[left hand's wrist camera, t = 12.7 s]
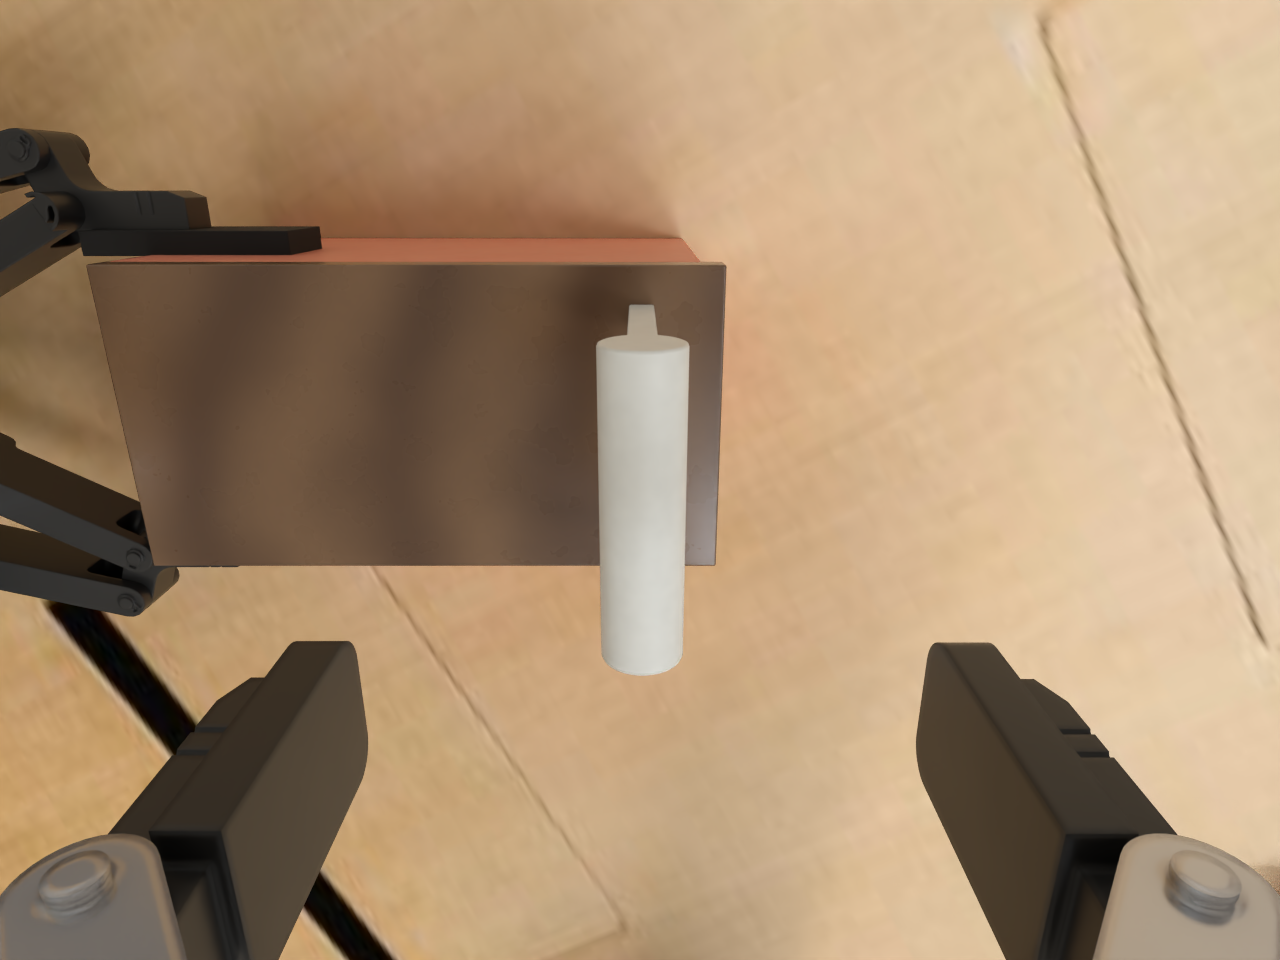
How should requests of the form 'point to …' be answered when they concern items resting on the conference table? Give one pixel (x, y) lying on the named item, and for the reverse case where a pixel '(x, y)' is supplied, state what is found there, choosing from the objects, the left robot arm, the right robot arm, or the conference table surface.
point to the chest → (467, 251)
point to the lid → (430, 420)
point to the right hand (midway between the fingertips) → (325, 389)
